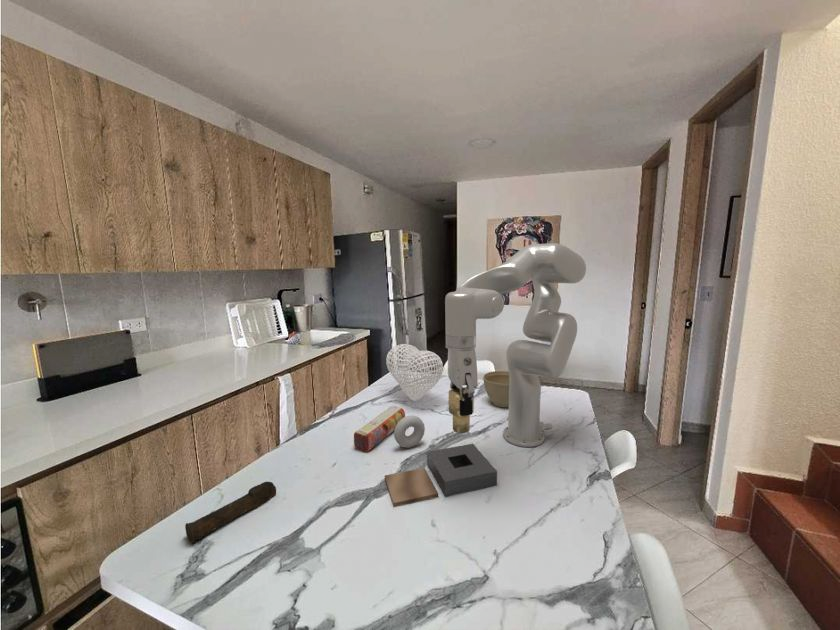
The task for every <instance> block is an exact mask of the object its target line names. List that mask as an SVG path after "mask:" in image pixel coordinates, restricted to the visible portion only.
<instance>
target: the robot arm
mask: <svg viewBox="0 0 840 630" xmlns="http://www.w3.org/2000/svg"><path fill="white" fill-rule="evenodd" d="M586 265H587V264H586V261H585V260H584V259H583V257H582V256H581V255H580V254H578V253H577V252H575V251H574V250H572V248H571V249H570V248H569V247H567V246H565V245H563V244H561V243H557V242H554V243H553V242H551V243H550V242H549V243H533V244H527V245H525V246H523V247H521V249H519V250H518V251H517V252H516V253H514V254H513V255H512V256H511V257H509V259H507V260H506V261H505V262H503V263H502V264H501V265H498V266H496V267H493V268H491V269H488V270H486V271H483V272H480V273H478V274H477V275H474V276H472V277H470V278H469V279H467V280H466V281H464V282H463V283H462V284H461V285H460V286H458V287H457V288H456V290H455V291H450V292H448V293H447V294H446V295H445V298H444V299H445V300H444V305H445V306H444V307H445V308H444V310H445V311H444V312H445V313H444V314H445V315H444V316H445V318H444V319H445V320H444V321H445V348H446V349H447V377H448V379H449V381H450V384H449V386H450V387H449V388H450V390H451V389H454V388H459V389H460V396H461V400H460V415H461V416H465V415H470V416H472V415H473V414H472V400H473V395H474V394H475V393H476V392H475V389H476V388H478V386H479V383H478V380H479V379H478V363H477V355H476V348H477V320H478V319H479V320H482V319H483V320H486V319H487V320H489V319H494V318H496V317H498V316H499V315H500V314H501V313H502V312H503V310H504V307H505V301H504V297H503V295H502V294H507V293H511V292H516V291H518V290H521V288H523V287H524V286H525V285H526V284H527V283H528V282H529V281H530V280H531V281H532V285H533V286H532V287H533V290H534V291H533V292H534V295H533V299H532V300H531V301H532V302H531V304H530V307H529V309H528V310H527V311H528V312H527V314H526V316H525V319H524V322H523V325H522V333H523V334H524V336H525V337H527V338H528V339H532V340H533V341H532V340H526V339H517V340H514V341H512V342H511V343H510V344H509V345H508V347H507V349H506V354H505V355H506V363H507V368H508V371H509V407H508V413H507V414H508V415H507V417H508V419H507V420H508V421H507V424H508V425H507V426H506V427H505V428H504V429H503V431H502V436H503V438H504V439H505V440H506V441H507V442H508V443H510V444H512V445H514V446H518V447H525V448H532V447H537V446H540V445H542V444H543V443H544V441H545V435H544V434H543V432H545V431H550V430H552V429H553V425H552V423H551V422H550V423H549V422H548V423H544V421H543V420H542V421H541V420H540V418H541V392H542V385H541V381H540V379H539V376H541V377H544V378H548V379H549V378H550V379H556V378H559V377H560V376H561V375H562V374H563V373H564V371H565V369H566V366H567V363H568V361H569V358H570V355H571V353H572V349H573V347H574V344H575V341H576V338H577V334H578V322H577V320H576V318H575V317H574V316H573V315H572V314H570V313H566V312H559V311H560V308H561V305H562V298H561V295H560V293H559V291H558V289H557V288H556V287H555V285H554V283H555V284H578V283H579V282H581V281H582V280H583V279H584V278H585V276H586V273H587V272H586V271H587V266H586ZM534 340H535V341H534ZM539 341H540V342H539ZM541 342H544V343H541ZM546 343H547V344H546ZM548 343H550V344H548ZM463 386H465V387H463ZM463 390H467V392H466V393H465V394H464V392H463ZM474 396H475V395H474Z"/></svg>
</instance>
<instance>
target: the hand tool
mask: <svg viewBox="0 0 840 630" xmlns="http://www.w3.org/2000/svg"><path fill="white" fill-rule="evenodd" d="M276 495H277V487H276V485H274V483H273V482H272V481H264V482H262V483H259V484H256V485H254V486H252V487H251V488H250V489H248V492H247V493H246V494H244V495H243V496H241V497H239V498H237V499H235V500H233V501H231V502H230V503H228V504H226V505H223V506H222V507H219V508H218V509H216V510H213V511H212V512H210V513H209V514H206V515H204V516H201V517H199V518H197V519H196V520H195V521H193V522H187V523H185V525H184V528H185V534H186V537H187V539H188V541H189V543H191V545H194V543H195V542H196V541H197V540H202V539H203V537H204V536H206V535H209V533H211V532H213V531H214V530H216V529H218V528H220V527H222V526H223V525H225V524H227V523H230V522H231V521H232V520H234V519H236V518H237V517H240V516H241V515H243V514H245V513H247V512H248V511H250V510H252V509H253V510H256V509H259V508H260V507H261V506H264V505H265V504H266V503H268V502H269V501H270V500H271V499H272V498H274V497H275V496H276Z"/></svg>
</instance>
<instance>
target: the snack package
mask: <svg viewBox="0 0 840 630" xmlns="http://www.w3.org/2000/svg"><path fill="white" fill-rule="evenodd" d="M404 417H406V411H405V410H404V409H403V408H402V407H400V406H397V405H391V406H388V408H387V409H386V410H383V412H381V413H380V414H379V415H377V416H375V417H374V418H373V419H372V420H370V421H369V422H368V423H365V425H363V426H362V427H361V428H359V429H358V430H356V431H355V432H354V433H353V445H354V447H355V449H356V450H357V451H361V452H365V453H367V452H369V451H371V450H372V449H373V448H374V447H375V446H376V445H377V444H379V443H380V442H381V441H383V440H384V439H385V438H387V437H388V436H389V435H390V434H392V433H393V432H394V431H395V427H396V425H397V423H398V422H399V421H400V420H401V419H402V418H404Z"/></svg>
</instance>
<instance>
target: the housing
mask: <svg viewBox="0 0 840 630" xmlns="http://www.w3.org/2000/svg"><path fill="white" fill-rule="evenodd" d="M426 465H427V468H428V470H429V471H430V473H431V474H432V476H433V479H434V480H435V483H436V484H437V486H438V487H439V489H440V490H441V493H442V496H444V498H447V497H452V496H457V495H460V494H465V493H466V494H467V493H469V492H475V491H479V490H482V489H483V490H484V489H488V488H493V487H497V486H498V470H497V469H496V468H495V467H494V465H492V463H490V461H489V460H488V459H487V458H486V456H485V455H484V454H483V452H481V451H480V450H479V448H477V446H476V445H475V444H474V443H468V444H463V445H458V446H452V447H446V448H441V449H435V450H428V451H426Z"/></svg>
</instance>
